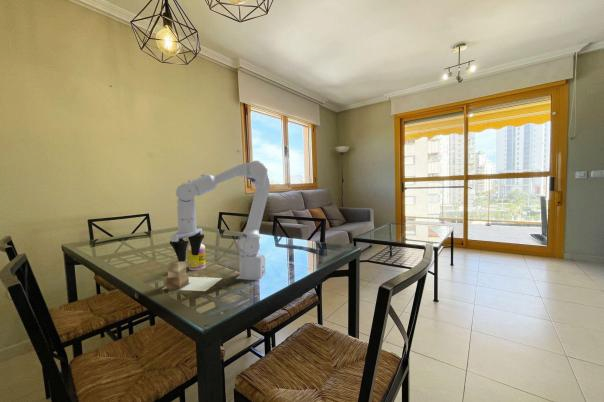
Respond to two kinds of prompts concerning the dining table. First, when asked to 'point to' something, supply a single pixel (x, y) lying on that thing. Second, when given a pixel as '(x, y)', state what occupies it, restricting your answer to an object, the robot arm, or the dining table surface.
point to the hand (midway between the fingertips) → (189, 258)
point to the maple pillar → (176, 269)
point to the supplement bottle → (197, 259)
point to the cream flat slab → (199, 283)
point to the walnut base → (177, 282)
